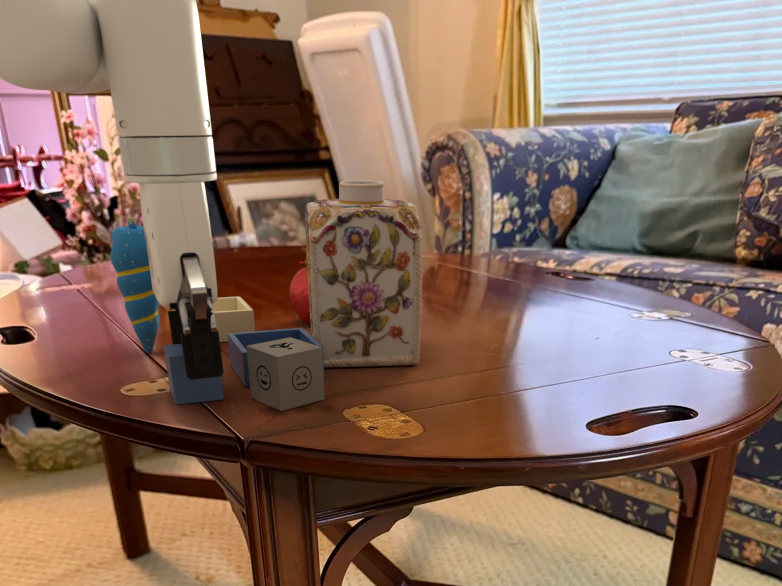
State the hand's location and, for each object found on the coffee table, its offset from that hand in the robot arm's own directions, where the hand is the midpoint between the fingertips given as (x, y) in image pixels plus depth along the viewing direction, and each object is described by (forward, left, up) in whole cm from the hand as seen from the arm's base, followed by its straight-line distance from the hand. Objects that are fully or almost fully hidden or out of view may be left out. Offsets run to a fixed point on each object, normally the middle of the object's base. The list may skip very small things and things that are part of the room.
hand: (197, 363), depth 72 cm
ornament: (-3, +17, -3) cm, 18 cm away
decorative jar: (+20, +9, -3) cm, 22 cm away
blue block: (0, 0, -3) cm, 3 cm away
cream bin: (+5, +24, -3) cm, 25 cm away
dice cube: (+8, -4, -3) cm, 9 cm away
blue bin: (+9, +5, -3) cm, 10 cm away
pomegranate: (+21, +26, -3) cm, 33 cm away
